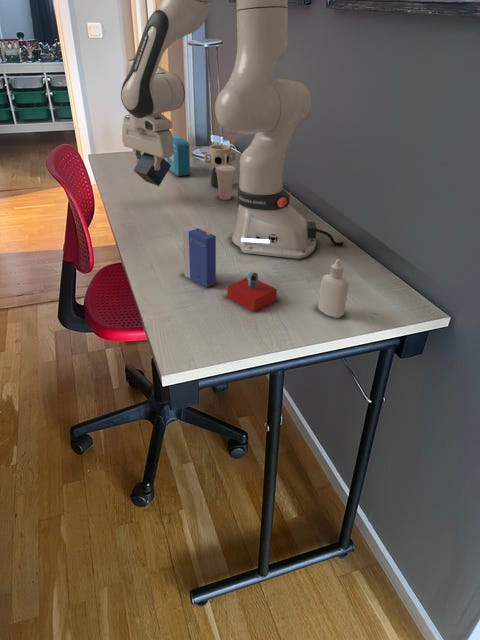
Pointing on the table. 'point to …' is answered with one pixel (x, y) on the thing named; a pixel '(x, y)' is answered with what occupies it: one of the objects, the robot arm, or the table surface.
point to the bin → (151, 169)
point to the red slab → (252, 292)
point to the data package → (180, 157)
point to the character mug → (218, 159)
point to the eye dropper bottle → (333, 292)
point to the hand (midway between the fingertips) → (148, 166)
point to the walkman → (200, 256)
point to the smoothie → (225, 179)
